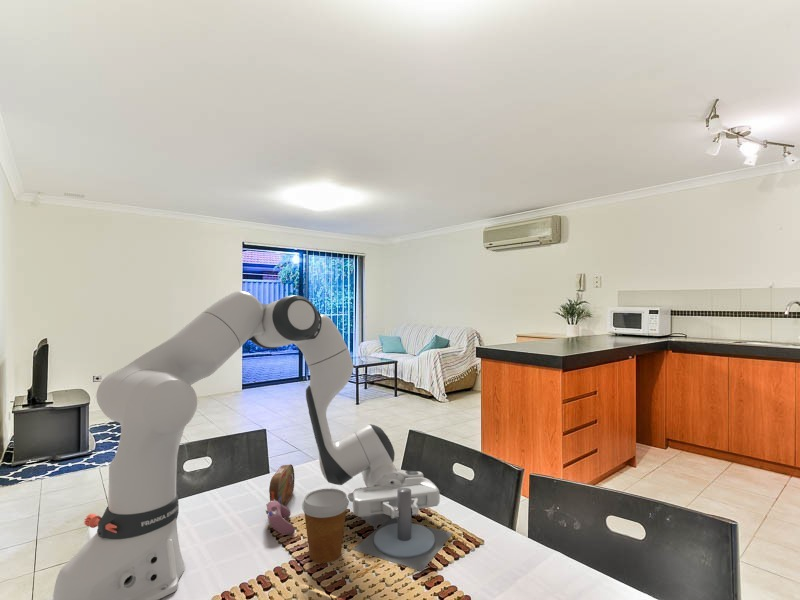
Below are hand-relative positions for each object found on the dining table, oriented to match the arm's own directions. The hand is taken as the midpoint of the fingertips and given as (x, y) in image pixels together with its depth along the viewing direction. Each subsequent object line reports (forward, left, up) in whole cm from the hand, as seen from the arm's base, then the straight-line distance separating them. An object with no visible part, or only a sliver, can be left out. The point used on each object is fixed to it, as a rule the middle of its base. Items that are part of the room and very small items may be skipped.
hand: (405, 513), depth 93 cm
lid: (+1, +1, -6) cm, 6 cm away
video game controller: (-7, +29, -7) cm, 31 cm away
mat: (+1, +1, -7) cm, 7 cm away
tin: (+4, +39, -7) cm, 39 cm away
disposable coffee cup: (-11, +13, -7) cm, 18 cm away
